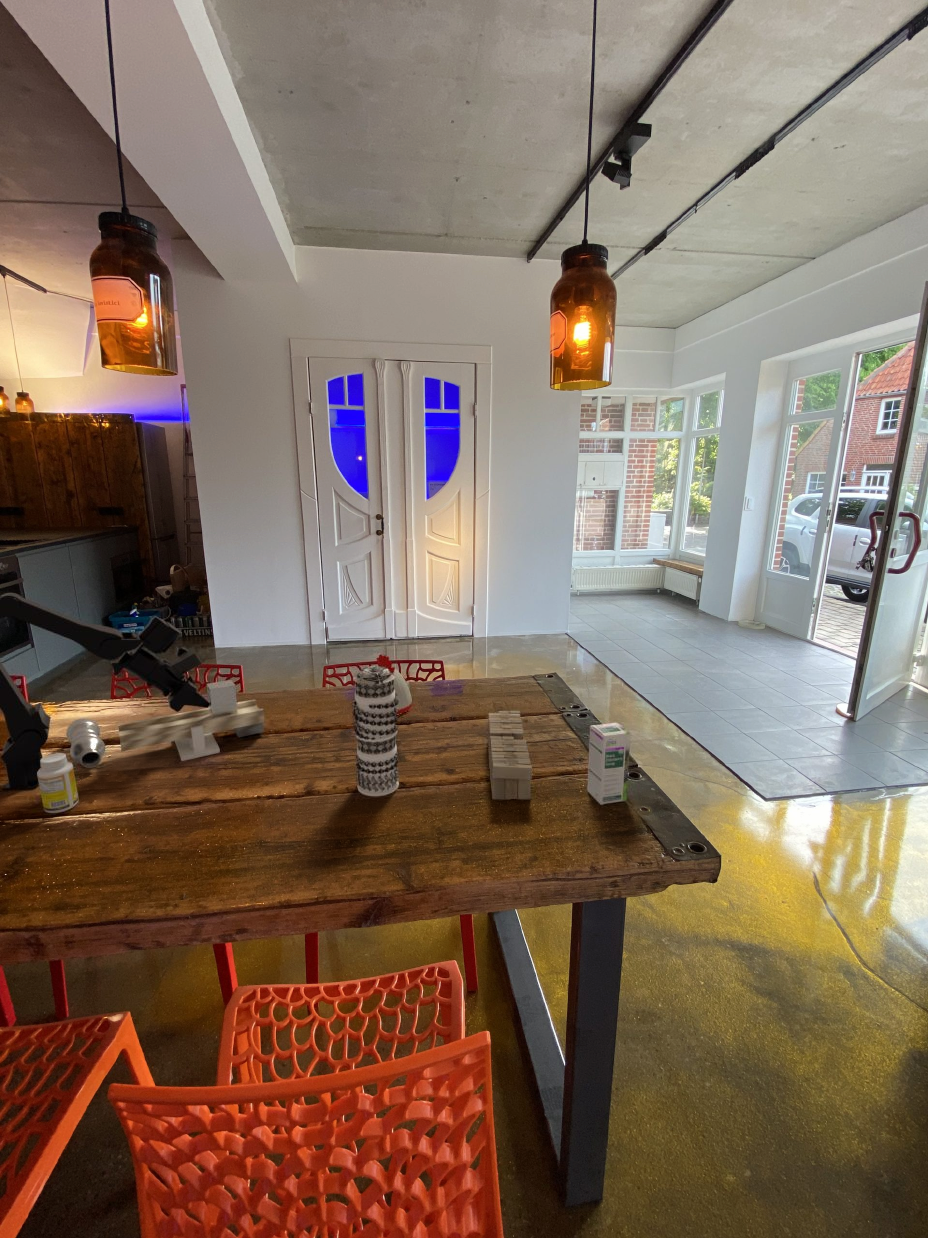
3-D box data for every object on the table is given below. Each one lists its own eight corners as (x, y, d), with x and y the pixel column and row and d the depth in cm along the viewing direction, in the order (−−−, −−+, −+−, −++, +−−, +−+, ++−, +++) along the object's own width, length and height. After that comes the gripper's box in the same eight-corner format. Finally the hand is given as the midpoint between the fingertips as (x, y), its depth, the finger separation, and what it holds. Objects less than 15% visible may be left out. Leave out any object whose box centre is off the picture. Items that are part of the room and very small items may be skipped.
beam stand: (181, 761, 126) (178, 733, 125) (173, 738, 138) (170, 713, 136) (219, 752, 131) (217, 725, 129) (209, 731, 142) (206, 706, 141)
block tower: (487, 743, 139) (490, 804, 110) (487, 710, 137) (491, 764, 108) (519, 743, 139) (531, 804, 110) (520, 710, 137) (532, 764, 108)
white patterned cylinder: (407, 777, 120) (404, 664, 114) (390, 800, 111) (386, 679, 105) (367, 772, 122) (363, 661, 116) (347, 793, 113) (342, 674, 108)
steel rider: (212, 721, 133) (209, 689, 131) (209, 715, 137) (206, 683, 135) (237, 716, 136) (235, 685, 134) (234, 710, 140) (231, 679, 138)
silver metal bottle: (87, 746, 137) (97, 778, 122) (58, 734, 133) (64, 767, 118) (104, 722, 139) (116, 752, 123) (76, 711, 134) (85, 740, 119)
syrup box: (600, 806, 109) (604, 736, 106) (586, 790, 115) (589, 723, 112) (626, 801, 111) (631, 732, 108) (611, 786, 116) (615, 720, 113)
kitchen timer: (394, 695, 168) (393, 646, 164) (421, 708, 157) (420, 657, 154) (352, 706, 159) (350, 655, 156) (378, 721, 149) (376, 666, 145)
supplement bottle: (67, 796, 112) (59, 748, 110) (85, 802, 110) (77, 754, 107) (37, 810, 107) (27, 761, 105) (55, 817, 105) (46, 767, 102)
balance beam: (123, 764, 123) (119, 737, 121) (121, 749, 130) (117, 724, 128) (265, 733, 139) (263, 709, 137) (256, 722, 145) (255, 699, 144)
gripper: (181, 650, 120) (240, 689, 128) (170, 632, 135) (224, 668, 143) (143, 692, 118) (206, 730, 126) (137, 669, 133) (193, 703, 141)
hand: (208, 705), depth 134 cm, fingers closed, pressing on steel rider
